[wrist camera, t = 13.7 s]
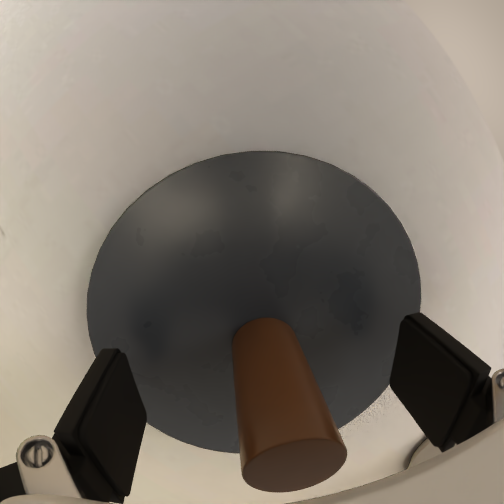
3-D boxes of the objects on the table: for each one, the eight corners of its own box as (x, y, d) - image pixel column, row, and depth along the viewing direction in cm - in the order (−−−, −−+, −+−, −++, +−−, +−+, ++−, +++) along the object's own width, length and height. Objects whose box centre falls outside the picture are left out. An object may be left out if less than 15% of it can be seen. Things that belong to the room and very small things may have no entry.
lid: (412, 154, 10) (547, 154, 4) (384, 411, 14) (437, 495, 7) (70, 178, 9) (-65, 193, 3) (143, 441, 13) (123, 542, 6)
